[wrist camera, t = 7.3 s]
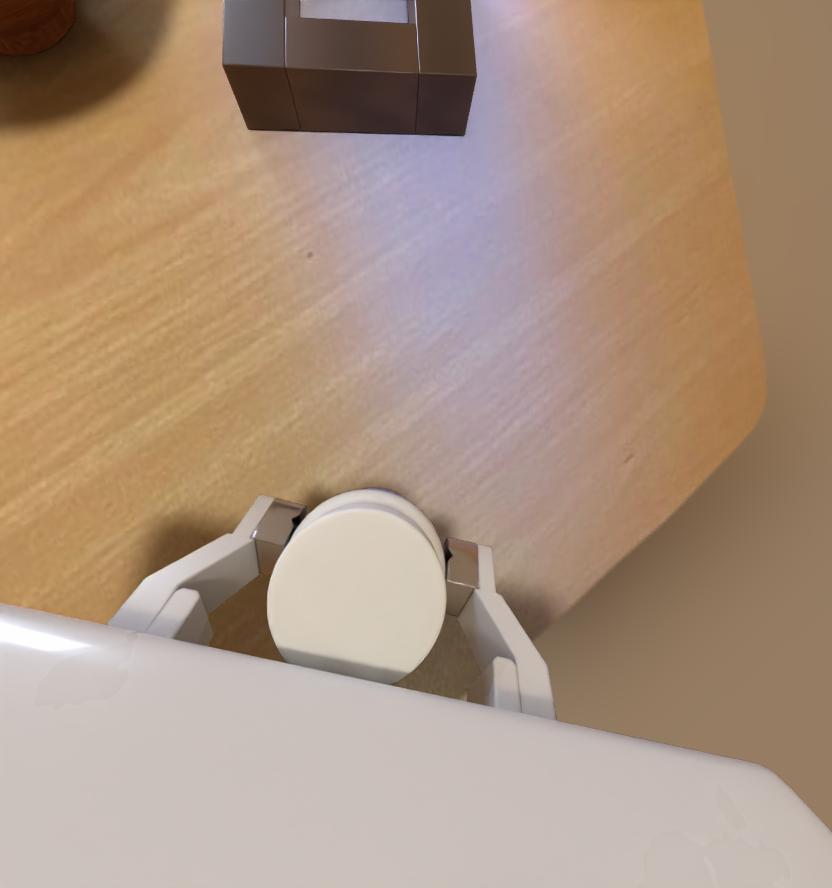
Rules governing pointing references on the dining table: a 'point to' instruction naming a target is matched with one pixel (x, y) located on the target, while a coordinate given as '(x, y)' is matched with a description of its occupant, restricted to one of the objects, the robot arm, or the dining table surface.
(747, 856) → the robot arm
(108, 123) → the dining table surface
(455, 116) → the dock
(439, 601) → the pill bottle
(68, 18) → the bowl
